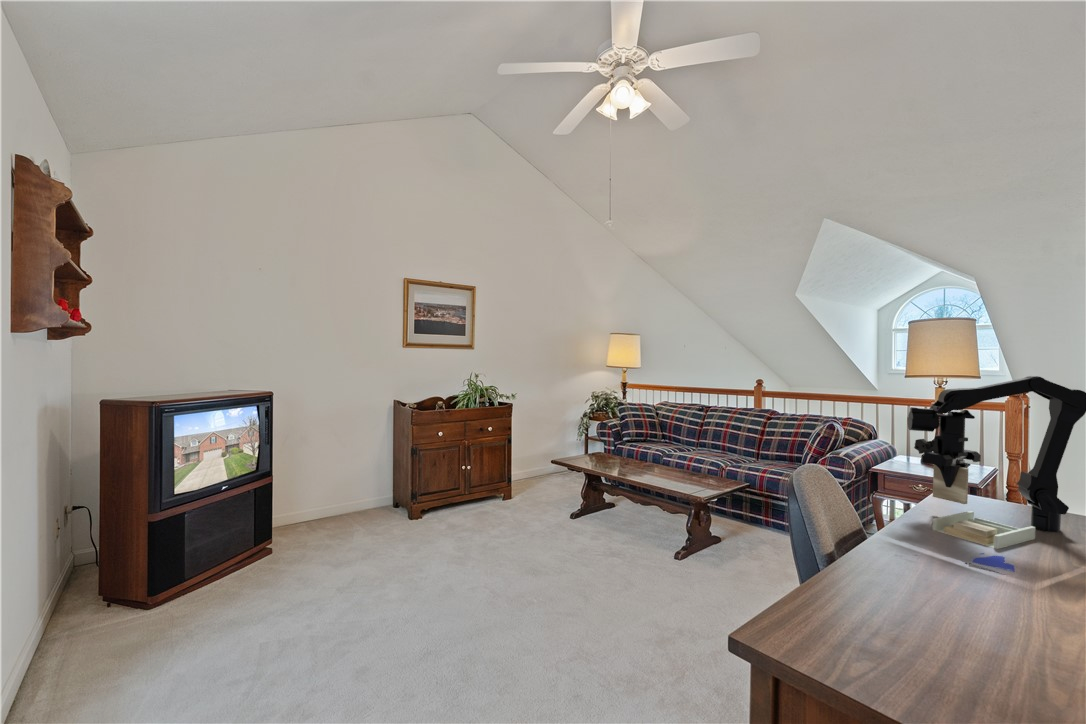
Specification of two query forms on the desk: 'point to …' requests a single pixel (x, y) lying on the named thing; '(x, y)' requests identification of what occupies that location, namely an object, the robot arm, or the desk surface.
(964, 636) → the desk surface
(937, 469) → the birch sheet
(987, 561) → the hard drive
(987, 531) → the offcut top
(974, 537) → the offcut bottom
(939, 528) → the rack
